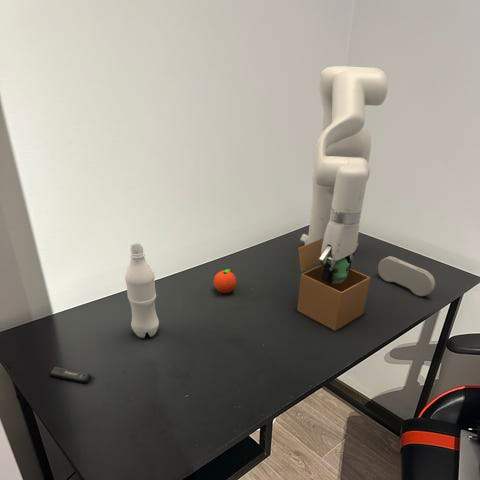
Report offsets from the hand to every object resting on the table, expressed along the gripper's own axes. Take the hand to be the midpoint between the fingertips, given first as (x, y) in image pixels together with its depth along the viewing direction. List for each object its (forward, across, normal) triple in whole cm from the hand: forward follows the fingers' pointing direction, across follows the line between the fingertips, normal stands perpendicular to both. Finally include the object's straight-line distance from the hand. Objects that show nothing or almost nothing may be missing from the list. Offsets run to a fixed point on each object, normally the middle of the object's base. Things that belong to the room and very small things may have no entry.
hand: (335, 276), depth 125 cm
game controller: (+12, -30, +6) cm, 33 cm away
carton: (+12, 0, 0) cm, 12 cm away
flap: (-4, 0, -8) cm, 9 cm away
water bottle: (+12, +46, -26) cm, 54 cm away
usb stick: (+12, +69, -22) cm, 73 cm away
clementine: (+12, +15, -29) cm, 35 cm away
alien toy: (+3, 0, 0) cm, 3 cm away
